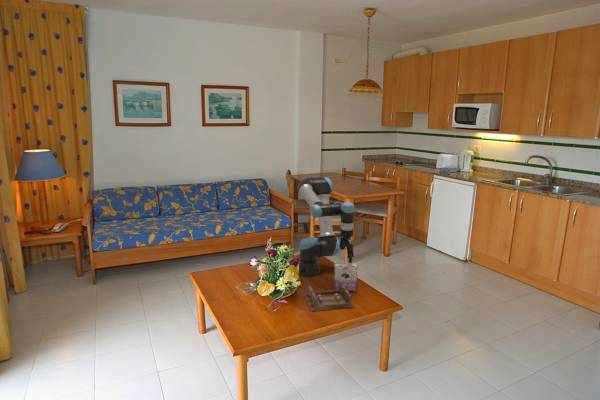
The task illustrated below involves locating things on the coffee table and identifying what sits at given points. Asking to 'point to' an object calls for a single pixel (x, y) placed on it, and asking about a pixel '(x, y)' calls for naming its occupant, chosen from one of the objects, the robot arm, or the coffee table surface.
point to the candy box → (345, 276)
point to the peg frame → (329, 299)
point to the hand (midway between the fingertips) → (346, 263)
